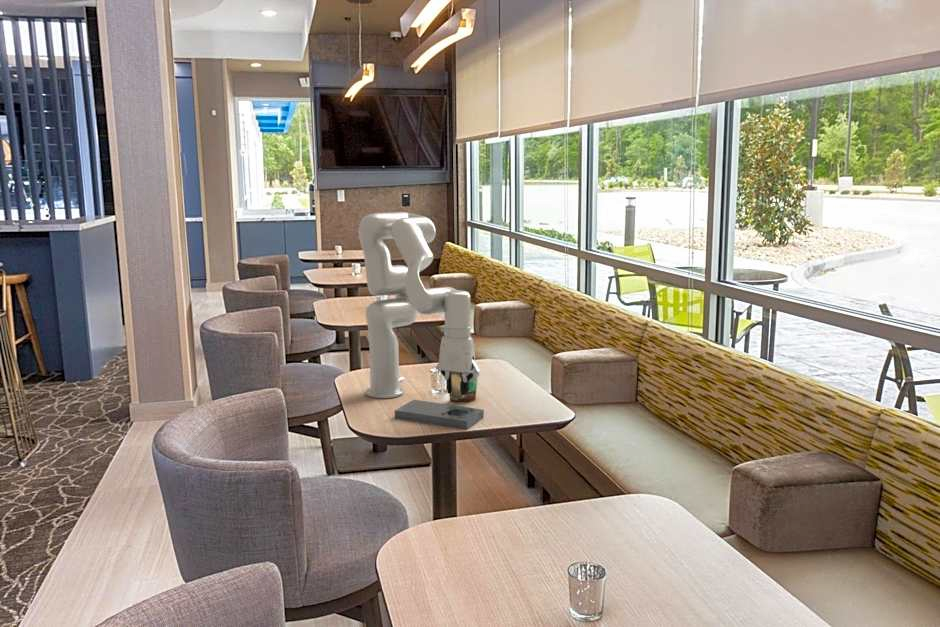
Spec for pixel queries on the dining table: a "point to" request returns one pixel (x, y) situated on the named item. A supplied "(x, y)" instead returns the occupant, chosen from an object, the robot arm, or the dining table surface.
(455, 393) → the brass sleeve
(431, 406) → the jig plate
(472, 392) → the food container
